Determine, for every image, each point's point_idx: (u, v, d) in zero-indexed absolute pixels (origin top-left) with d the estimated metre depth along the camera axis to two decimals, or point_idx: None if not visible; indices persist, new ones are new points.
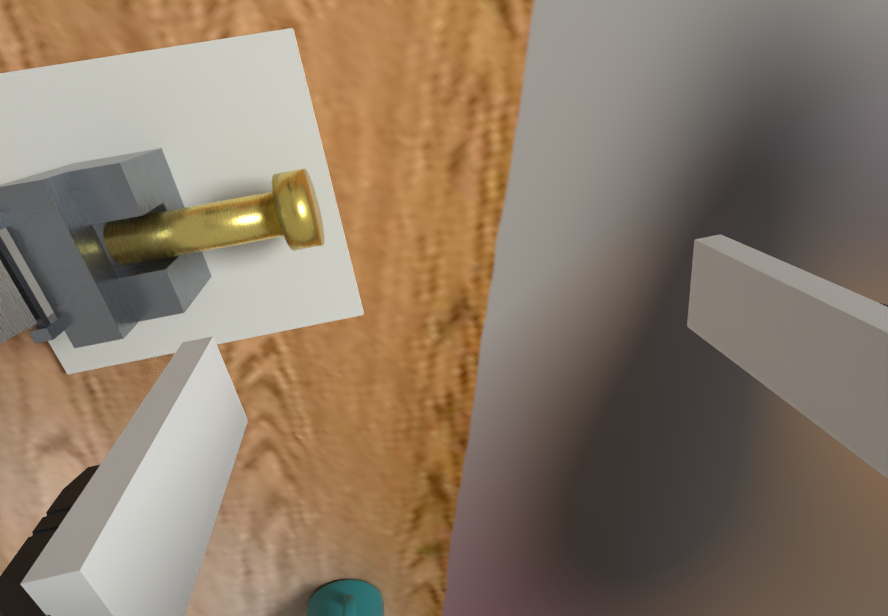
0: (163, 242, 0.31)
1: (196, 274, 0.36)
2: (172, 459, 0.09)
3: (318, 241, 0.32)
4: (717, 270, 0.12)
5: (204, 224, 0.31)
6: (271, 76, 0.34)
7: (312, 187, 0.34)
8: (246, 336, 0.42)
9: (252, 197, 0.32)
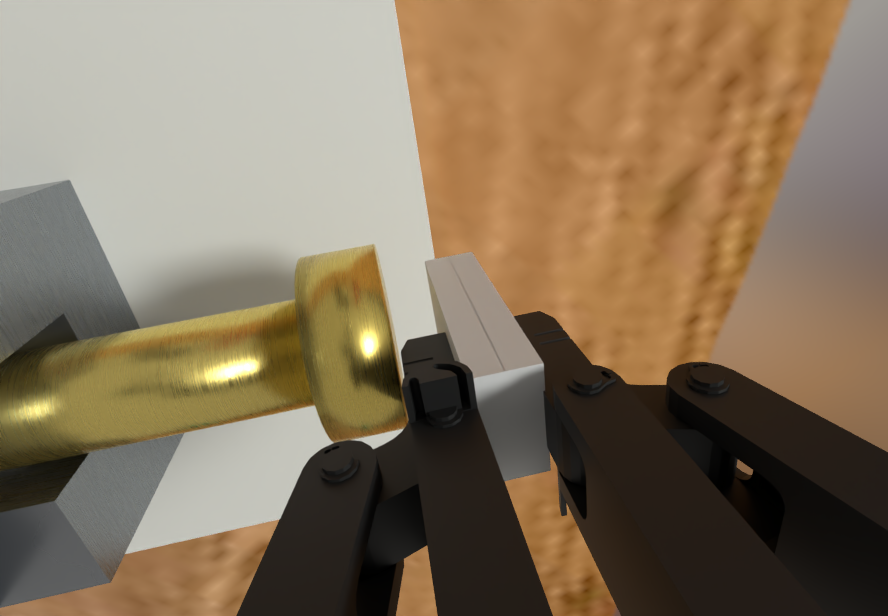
0: (3, 446, 0.12)
1: (150, 447, 0.17)
2: None
3: None
4: None
5: (113, 398, 0.12)
6: (322, 16, 0.15)
7: (382, 279, 0.15)
8: (254, 521, 0.22)
9: (243, 320, 0.13)
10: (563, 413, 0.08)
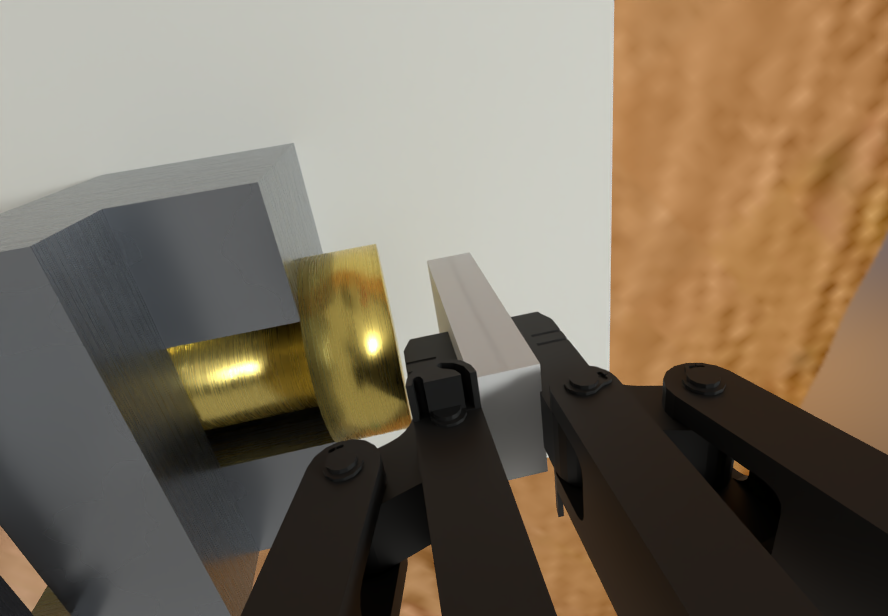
0: None
1: None
2: None
3: None
4: None
5: None
6: None
7: None
8: None
9: None
10: (560, 414, 0.08)
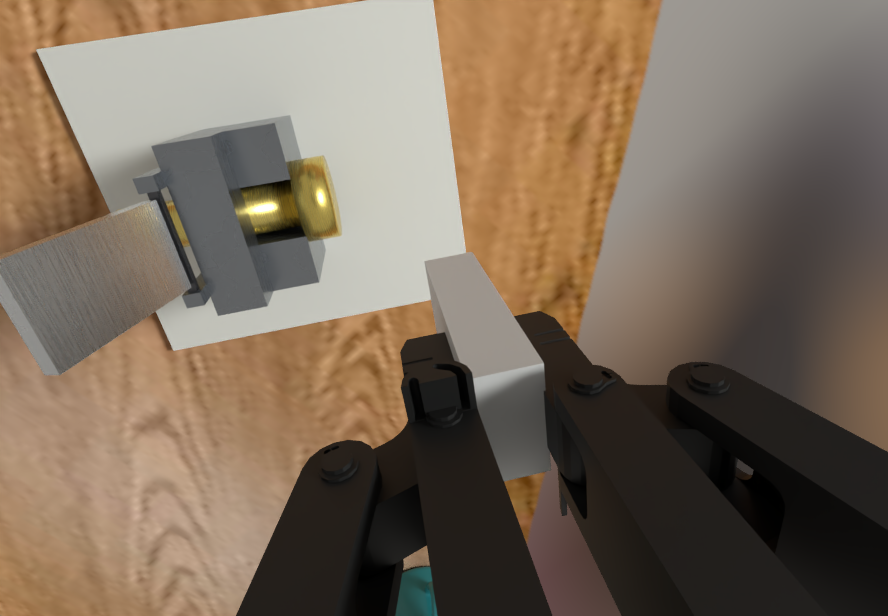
0: None
1: (319, 245, 0.35)
2: None
3: (337, 231, 0.31)
4: None
5: None
6: (406, 41, 0.33)
7: (330, 175, 0.33)
8: (353, 313, 0.41)
9: (268, 185, 0.31)
10: (564, 413, 0.08)
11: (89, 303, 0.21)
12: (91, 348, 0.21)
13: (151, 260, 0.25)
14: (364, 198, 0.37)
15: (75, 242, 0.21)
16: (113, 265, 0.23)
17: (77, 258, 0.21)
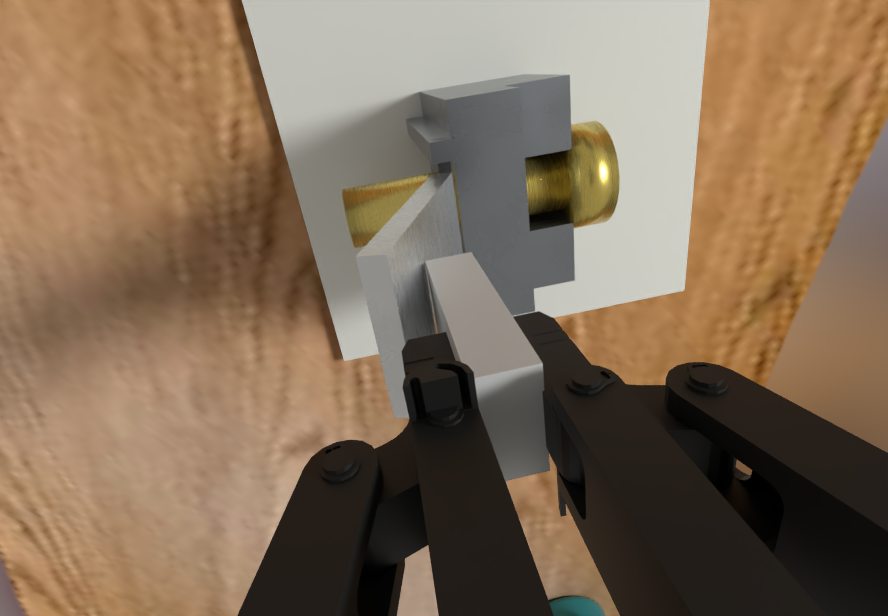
0: None
1: None
2: None
3: (609, 217, 0.25)
4: None
5: None
6: None
7: None
8: (551, 315, 0.35)
9: (528, 158, 0.24)
10: (563, 414, 0.08)
11: (430, 313, 0.15)
12: None
13: (452, 252, 0.19)
14: None
15: (422, 226, 0.15)
16: None
17: (424, 249, 0.15)
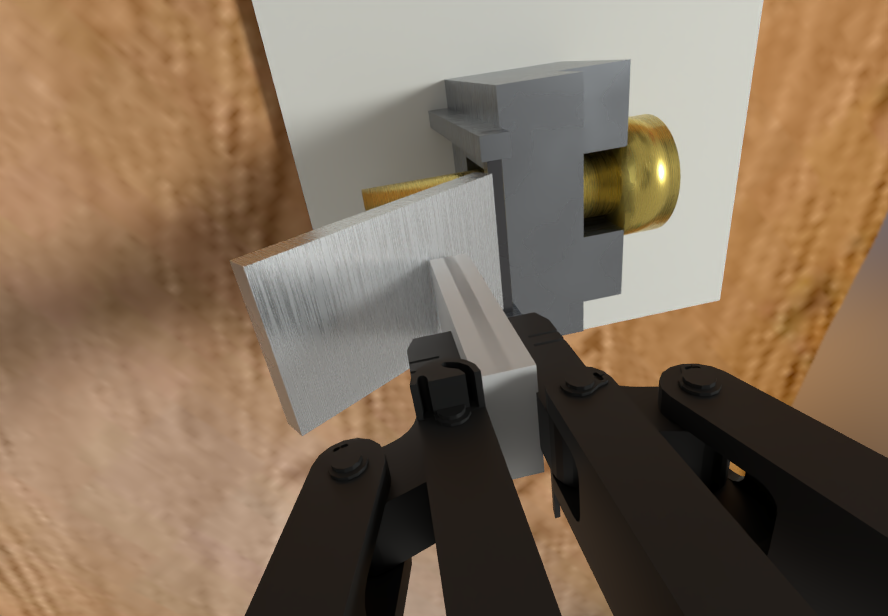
0: None
1: None
2: None
3: (663, 223, 0.22)
4: None
5: None
6: None
7: None
8: None
9: None
10: (557, 415, 0.08)
11: (364, 332, 0.14)
12: (352, 397, 0.14)
13: None
14: None
15: (366, 238, 0.13)
16: (410, 274, 0.14)
17: (363, 263, 0.13)
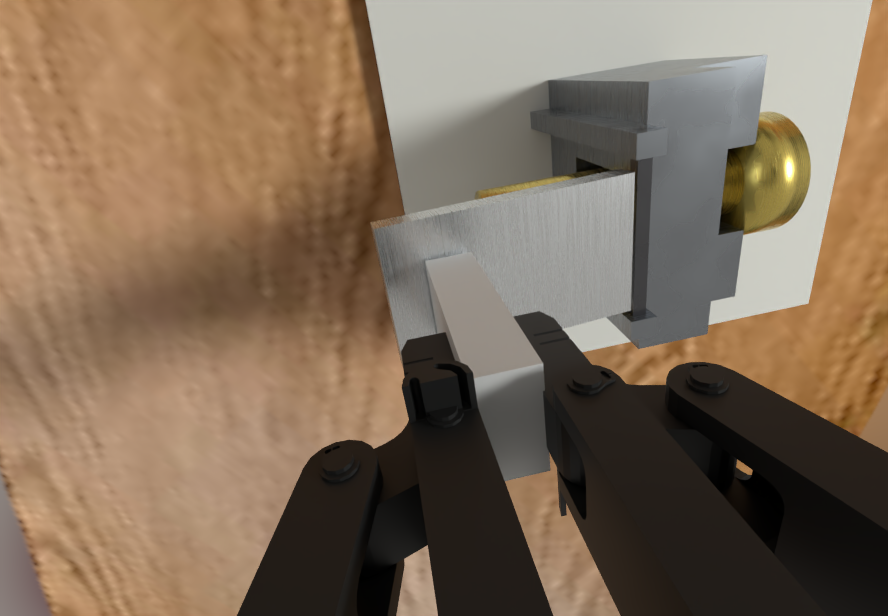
0: None
1: None
2: None
3: (784, 223, 0.21)
4: None
5: None
6: None
7: None
8: None
9: None
10: (563, 413, 0.08)
11: None
12: None
13: (584, 261, 0.16)
14: None
15: (483, 219, 0.15)
16: (523, 258, 0.16)
17: (477, 241, 0.15)
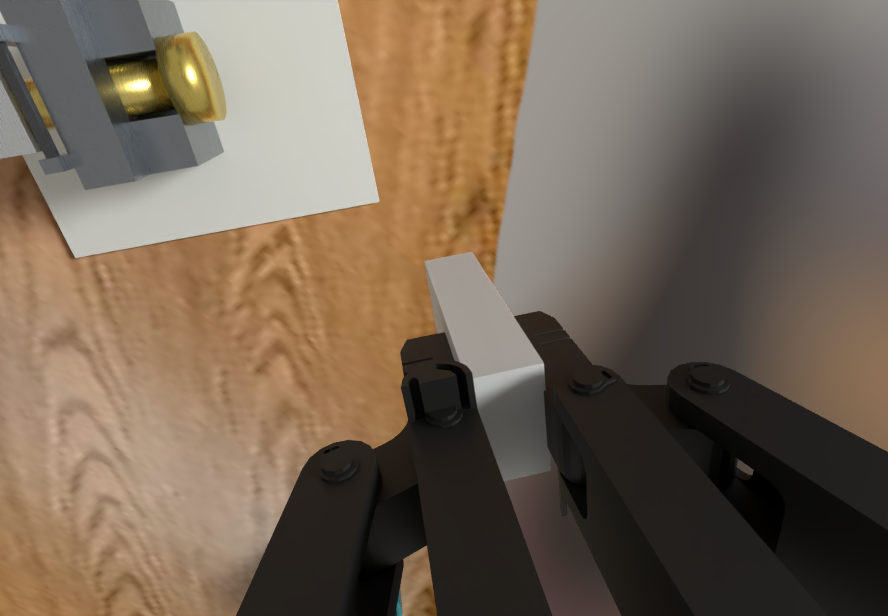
0: (41, 105, 0.29)
1: (209, 139, 0.35)
2: None
3: (211, 110, 0.31)
4: None
5: None
6: None
7: (211, 60, 0.33)
8: (259, 221, 0.41)
9: (139, 61, 0.30)
10: (564, 414, 0.08)
11: None
12: None
13: None
14: (259, 96, 0.37)
15: None
16: None
17: None
